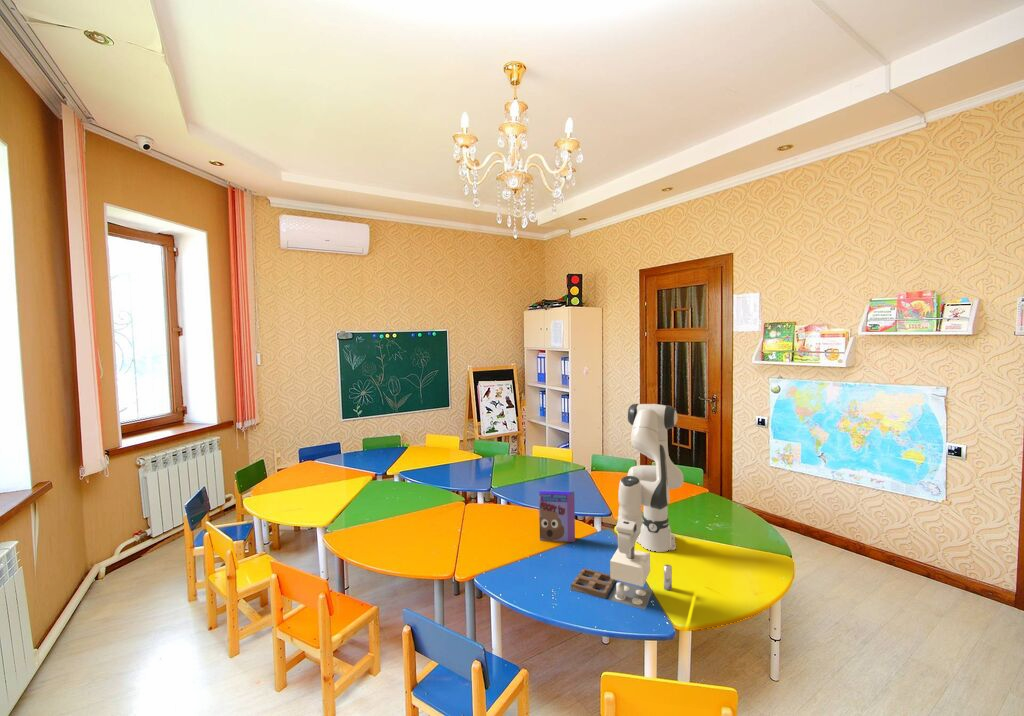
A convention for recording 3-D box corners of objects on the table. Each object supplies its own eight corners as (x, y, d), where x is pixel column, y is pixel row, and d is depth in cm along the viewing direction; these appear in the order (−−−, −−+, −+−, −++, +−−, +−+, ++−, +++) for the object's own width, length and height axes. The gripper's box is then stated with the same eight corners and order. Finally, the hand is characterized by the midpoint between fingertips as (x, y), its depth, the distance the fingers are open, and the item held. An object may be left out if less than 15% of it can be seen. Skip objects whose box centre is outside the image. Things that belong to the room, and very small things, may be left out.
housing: (619, 563, 180) (618, 536, 180) (650, 570, 174) (650, 543, 174) (610, 578, 170) (609, 550, 169) (643, 586, 164) (642, 558, 163)
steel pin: (664, 588, 178) (664, 563, 177) (672, 590, 176) (672, 565, 176) (663, 591, 175) (663, 567, 175) (671, 593, 174) (671, 569, 173)
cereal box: (539, 540, 221) (538, 493, 220) (540, 536, 226) (539, 490, 225) (574, 542, 219) (574, 494, 218) (574, 537, 223) (574, 491, 222)
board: (617, 583, 181) (617, 569, 181) (652, 592, 175) (652, 578, 174) (607, 602, 169) (607, 586, 169) (645, 612, 162) (645, 596, 162)
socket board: (583, 574, 189) (583, 568, 188) (615, 583, 182) (615, 576, 182) (571, 591, 176) (571, 584, 176) (605, 601, 170) (605, 593, 169)
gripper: (628, 508, 181) (629, 540, 182) (614, 528, 163) (615, 564, 164) (644, 510, 178) (644, 544, 179) (631, 532, 160) (632, 568, 161)
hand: (630, 554), depth 171 cm, fingers closed on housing, 3 cm apart
